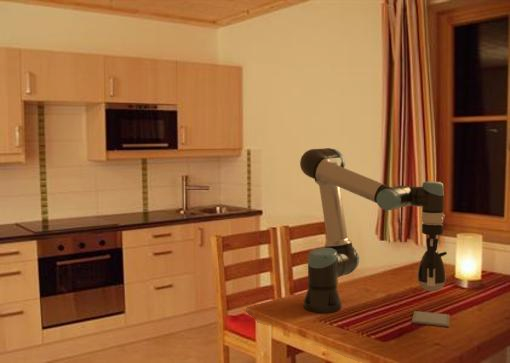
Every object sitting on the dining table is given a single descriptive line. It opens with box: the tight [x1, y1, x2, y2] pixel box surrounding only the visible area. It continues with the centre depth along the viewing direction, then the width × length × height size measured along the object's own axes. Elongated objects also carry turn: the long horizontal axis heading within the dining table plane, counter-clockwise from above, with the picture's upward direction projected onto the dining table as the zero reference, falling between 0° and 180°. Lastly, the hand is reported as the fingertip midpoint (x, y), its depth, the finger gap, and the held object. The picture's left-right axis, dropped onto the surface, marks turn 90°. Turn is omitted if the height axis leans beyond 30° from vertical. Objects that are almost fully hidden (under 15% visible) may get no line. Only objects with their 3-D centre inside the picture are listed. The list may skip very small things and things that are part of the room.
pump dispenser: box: [417, 250, 448, 292], centre depth 203 cm, size 10×10×15 cm
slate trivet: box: [411, 310, 450, 328], centre depth 205 cm, size 13×13×1 cm
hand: (431, 281), depth 204 cm, fingers closed on pump dispenser, 10 cm apart
